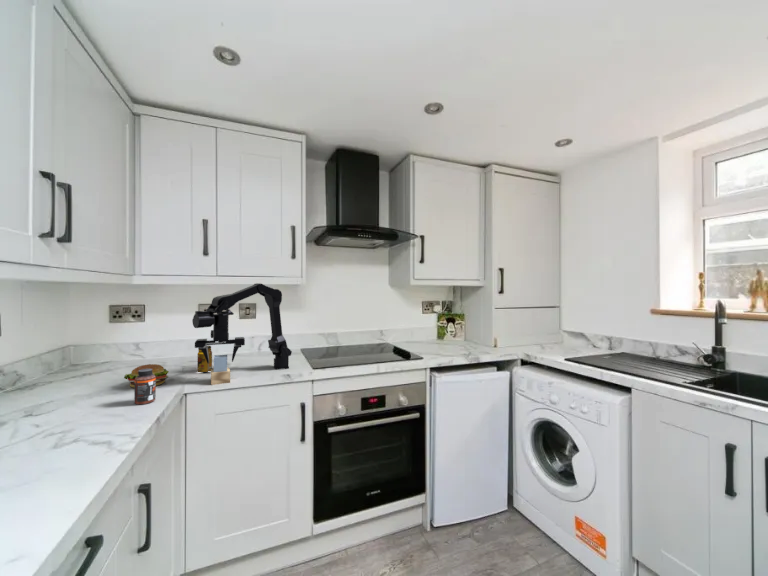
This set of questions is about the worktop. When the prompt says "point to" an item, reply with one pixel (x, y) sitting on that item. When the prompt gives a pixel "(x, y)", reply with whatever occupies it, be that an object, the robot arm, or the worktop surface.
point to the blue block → (220, 363)
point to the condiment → (204, 361)
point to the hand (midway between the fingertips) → (220, 362)
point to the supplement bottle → (145, 387)
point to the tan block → (220, 377)
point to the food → (156, 369)
